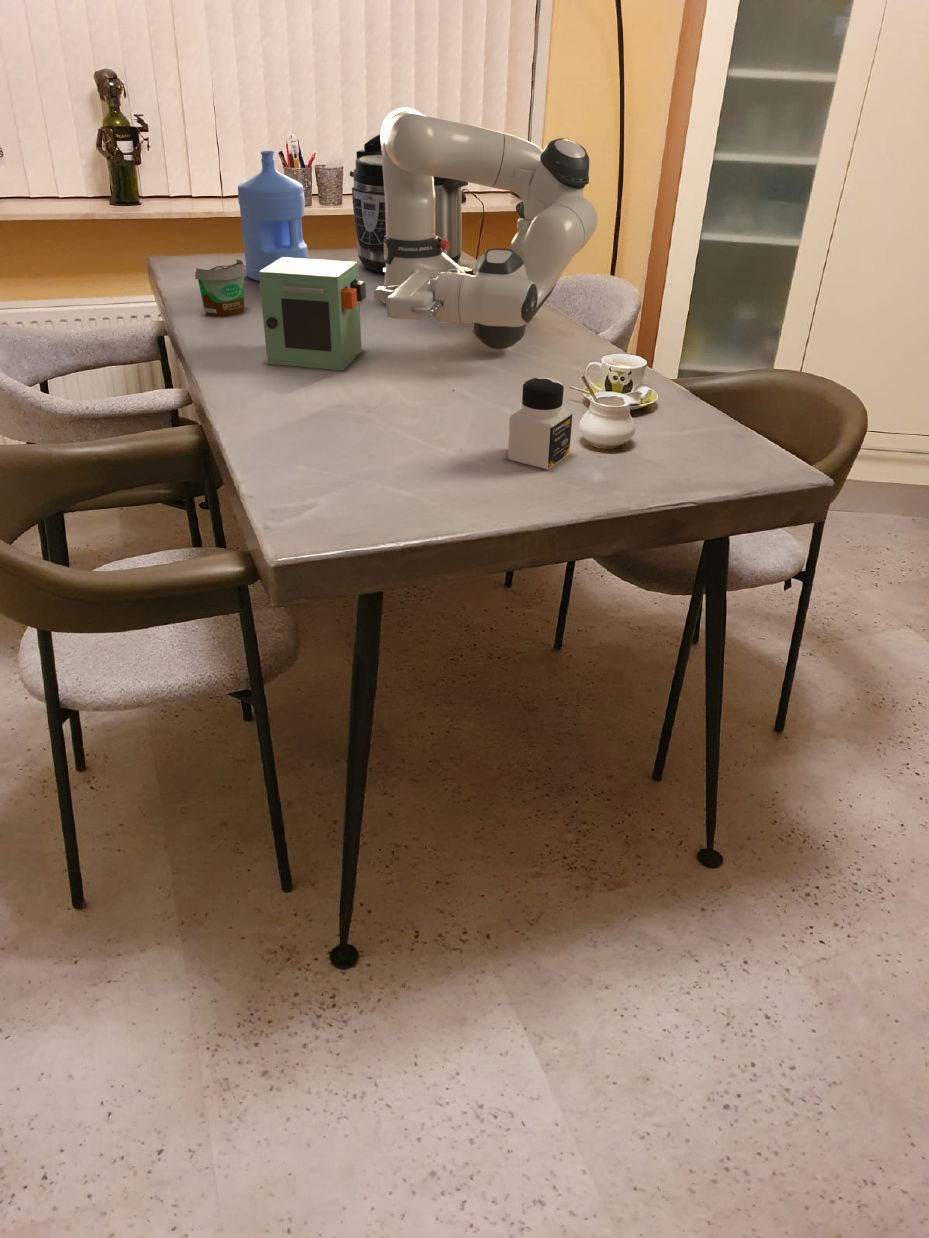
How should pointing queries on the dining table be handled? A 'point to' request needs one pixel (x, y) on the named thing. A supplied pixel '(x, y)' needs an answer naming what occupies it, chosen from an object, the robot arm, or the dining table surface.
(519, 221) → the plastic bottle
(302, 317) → the green box
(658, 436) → the dining table surface
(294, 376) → the dining table surface
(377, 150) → the pressure cooker
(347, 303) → the button
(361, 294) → the timer button
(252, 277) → the water jug
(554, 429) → the medicine bottle
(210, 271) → the food container
